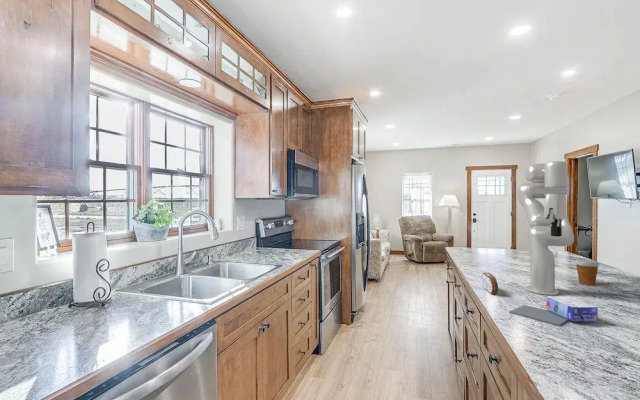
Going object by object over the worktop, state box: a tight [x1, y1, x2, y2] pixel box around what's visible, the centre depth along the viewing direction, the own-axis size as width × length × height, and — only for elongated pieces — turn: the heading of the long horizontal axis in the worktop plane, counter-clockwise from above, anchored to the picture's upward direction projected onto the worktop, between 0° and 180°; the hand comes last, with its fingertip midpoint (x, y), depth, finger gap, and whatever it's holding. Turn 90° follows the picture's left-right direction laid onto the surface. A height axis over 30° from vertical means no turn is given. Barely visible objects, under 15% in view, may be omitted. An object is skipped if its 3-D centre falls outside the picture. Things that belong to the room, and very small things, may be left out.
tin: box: [481, 271, 499, 295], centre depth 149 cm, size 15×3×8 cm, turn 168°
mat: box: [509, 304, 570, 327], centre depth 117 cm, size 14×16×1 cm
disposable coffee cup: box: [574, 259, 600, 286], centre depth 161 cm, size 10×10×12 cm
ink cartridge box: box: [545, 296, 599, 322], centre depth 114 cm, size 10×6×14 cm
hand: (556, 236), depth 127 cm, fingers closed
